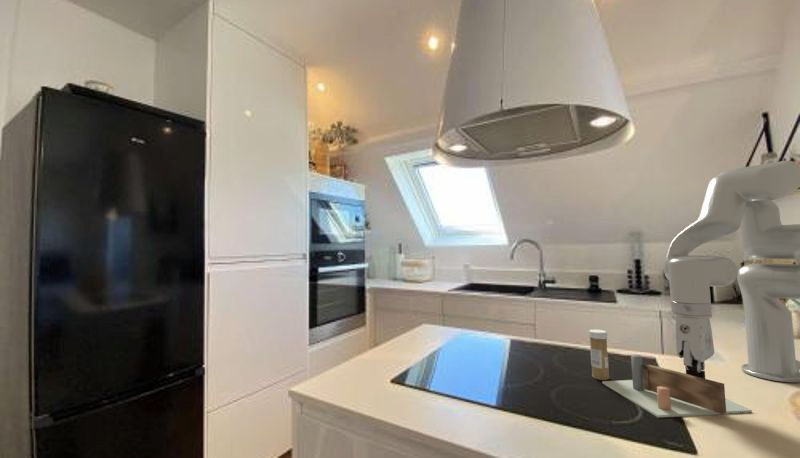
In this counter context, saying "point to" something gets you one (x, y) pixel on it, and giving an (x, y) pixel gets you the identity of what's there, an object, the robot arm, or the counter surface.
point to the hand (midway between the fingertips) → (696, 386)
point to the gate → (686, 387)
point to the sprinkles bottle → (599, 354)
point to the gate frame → (661, 396)
